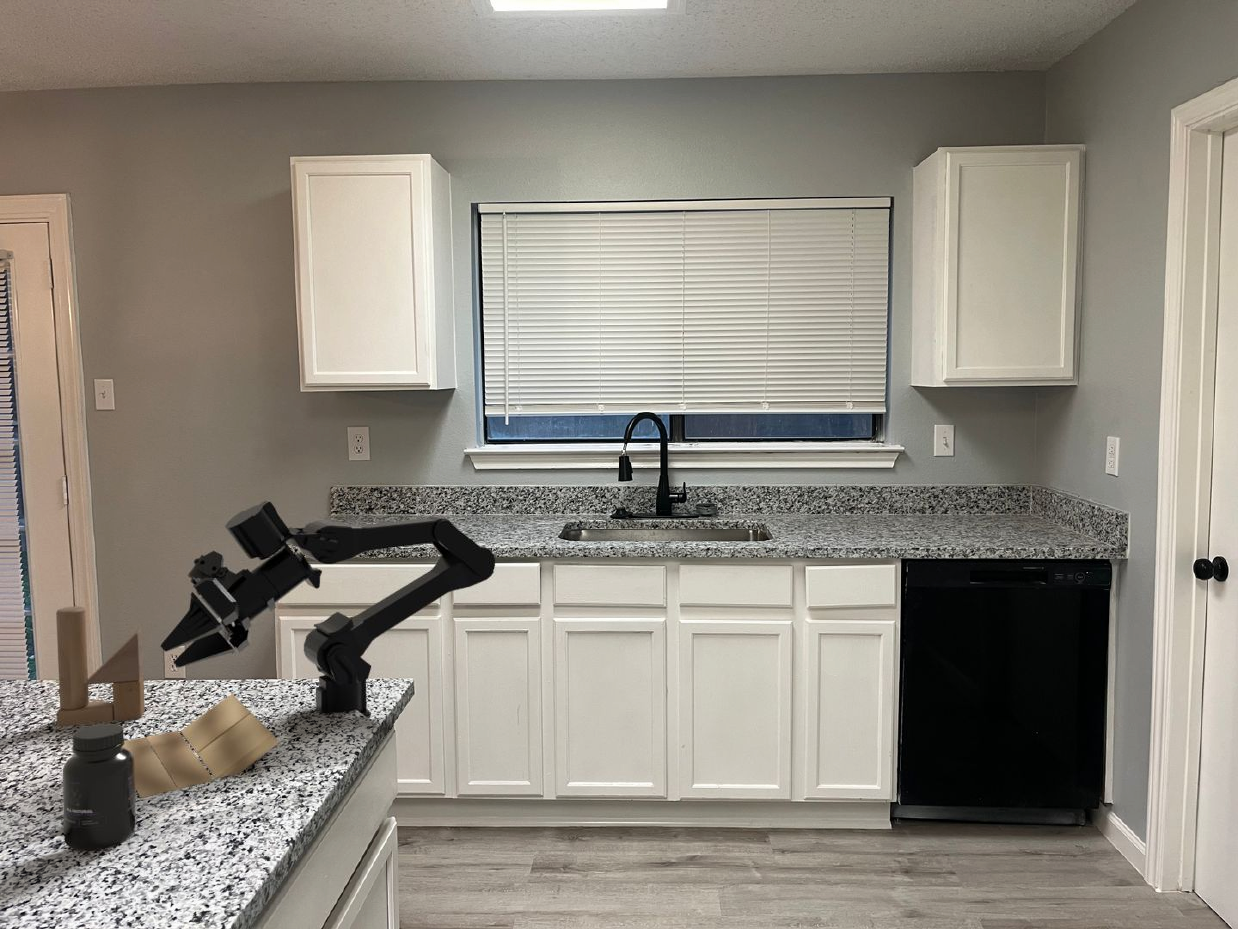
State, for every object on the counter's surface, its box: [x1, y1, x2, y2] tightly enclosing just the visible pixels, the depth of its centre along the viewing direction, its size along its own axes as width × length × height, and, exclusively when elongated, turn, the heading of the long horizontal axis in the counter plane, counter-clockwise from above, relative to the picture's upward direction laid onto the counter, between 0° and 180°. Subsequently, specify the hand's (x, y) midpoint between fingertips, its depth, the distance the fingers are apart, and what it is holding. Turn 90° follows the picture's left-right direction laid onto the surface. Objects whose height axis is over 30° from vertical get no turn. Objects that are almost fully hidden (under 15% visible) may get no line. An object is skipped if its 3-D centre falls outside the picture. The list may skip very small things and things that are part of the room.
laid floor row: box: [122, 730, 215, 799], centre depth 115 cm, size 8×20×2 cm, turn 38°
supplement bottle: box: [62, 723, 136, 852], centre depth 97 cm, size 7×7×12 cm
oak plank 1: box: [180, 693, 252, 754], centre depth 124 cm, size 8×10×2 cm
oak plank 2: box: [197, 712, 280, 779], centre depth 116 cm, size 8×10×2 cm
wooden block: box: [55, 606, 146, 728], centre depth 130 cm, size 4×11×18 cm, turn 110°
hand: (169, 657), depth 120 cm, fingers open, 9 cm apart
